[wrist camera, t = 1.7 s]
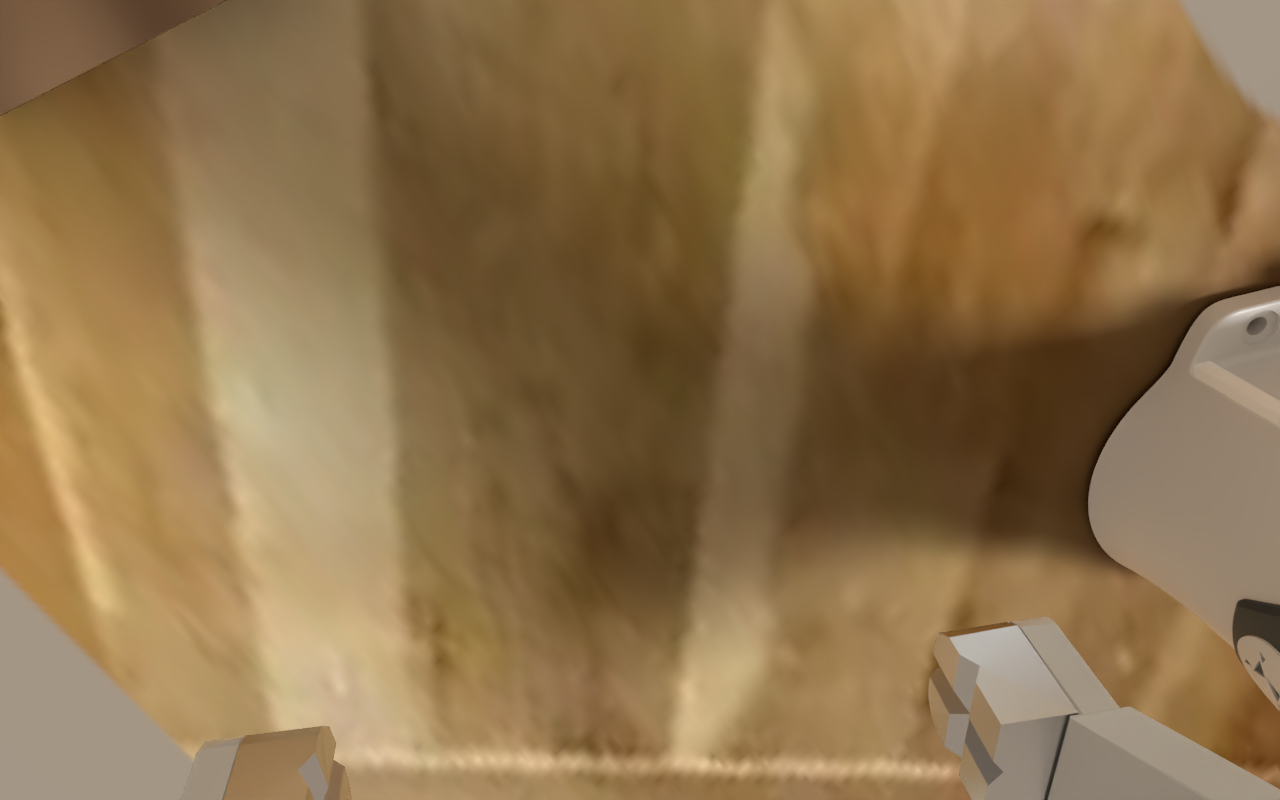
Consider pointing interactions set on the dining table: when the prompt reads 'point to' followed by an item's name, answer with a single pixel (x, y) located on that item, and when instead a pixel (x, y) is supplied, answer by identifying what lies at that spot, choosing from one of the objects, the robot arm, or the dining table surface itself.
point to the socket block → (75, 38)
